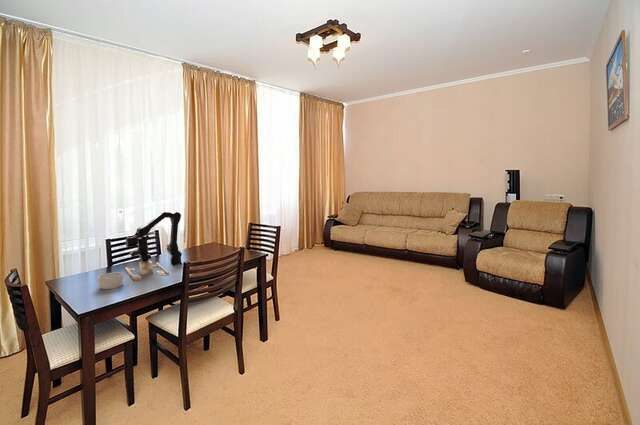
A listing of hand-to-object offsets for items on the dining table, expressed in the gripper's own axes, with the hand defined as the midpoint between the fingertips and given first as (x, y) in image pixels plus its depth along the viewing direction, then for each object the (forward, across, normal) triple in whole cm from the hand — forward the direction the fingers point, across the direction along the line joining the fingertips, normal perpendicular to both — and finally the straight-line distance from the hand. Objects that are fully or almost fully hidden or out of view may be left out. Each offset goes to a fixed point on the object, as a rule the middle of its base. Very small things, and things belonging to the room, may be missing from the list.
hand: (144, 266), depth 236 cm
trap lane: (+3, +6, 0) cm, 6 cm away
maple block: (+3, +6, 0) cm, 7 cm away
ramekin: (+3, +24, -23) cm, 33 cm away
